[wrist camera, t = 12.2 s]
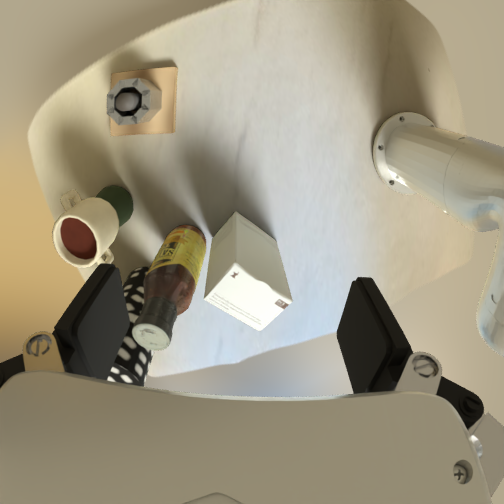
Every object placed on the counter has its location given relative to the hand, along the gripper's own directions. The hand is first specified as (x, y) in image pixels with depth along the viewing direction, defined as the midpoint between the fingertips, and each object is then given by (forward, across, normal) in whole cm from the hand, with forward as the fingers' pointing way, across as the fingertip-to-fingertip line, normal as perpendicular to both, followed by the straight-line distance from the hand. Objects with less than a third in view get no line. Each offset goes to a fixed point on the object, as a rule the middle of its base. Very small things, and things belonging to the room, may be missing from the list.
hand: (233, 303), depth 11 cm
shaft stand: (+30, +14, -8) cm, 34 cm away
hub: (+29, +14, -8) cm, 33 cm away
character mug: (+31, +19, +7) cm, 37 cm away
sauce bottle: (+31, +8, +13) cm, 34 cm away
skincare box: (+31, -1, +12) cm, 33 cm away
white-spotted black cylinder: (+31, +15, +22) cm, 40 cm away
